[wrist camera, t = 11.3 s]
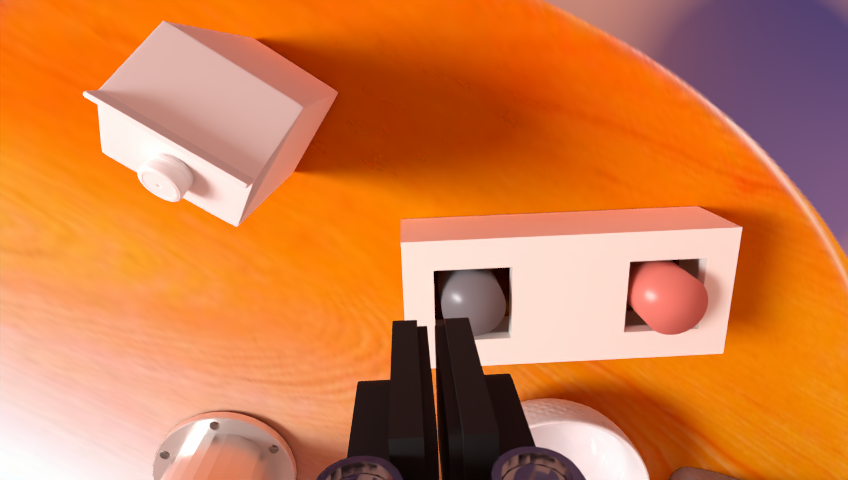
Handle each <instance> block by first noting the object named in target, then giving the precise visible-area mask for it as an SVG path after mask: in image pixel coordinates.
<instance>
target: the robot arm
mask: <svg viewBox="0 0 848 480" xmlns="http://www.w3.org/2000/svg"><path fill="white" fill-rule="evenodd" d="M435 357H436V388H437V419H438V439H437V425H436V415H435V404H434V394H433V383H432V373H431V362H430V352H429V341H428V331H427V326H417V320H404V321H393V325H392V352H391V378H390V380H377V381H359V382H358V385H357V391H356V398H355V405H354V412H353V419H352V426H351V433H350V440H349V448H348V455H347V458H346V459H342V460H340V461H338V462H336V463H334V464H332V465H330V466H328V467H327V468H326V469H325V470H324V471H323V472H322V473H320V474H319V476H318V477H317V479H316V480H439V462H438V441H439V453H440V463H441V473H442V480H586V479H585V477H584V476H583V474H582V473H581V471H580V470H579V468H578V467H577V466H576V465H575V464H574V463H573V462H572V461H571V460H570V459H568V458H567V457H565V456H564V455H562V454H561V453H558V452H556V451H553V450H550V449H548V448H541V447H536V445H535V442H534V440H533V437H532V434H531V431H530V428H529V425H528V423H527V420H526V417H525V414H524V411H523V408H522V405H521V403H520V400H519V397H518V394H517V391H516V388H515V386H514V383H513V380H512V377H511V375H510V374H493V375H484V374H483V370H482V366H481V362H480V359H479V355H478V351H477V347H476V343H475V340H474V336H473V332H472V328H471V325H470V321H469V318H468V317H466V318H445V319H444V325H435ZM296 475H297V470H296V462H295V459H294V456H293V454H292V451H291V449H290V448H289V446H288V444H287V443H286V441H285V440H284V439H283V438H282V437H281V436H280V435H279V434H278V433H277V432H276V431H275V430H274V429H272V428H271V427H270V426H268V425H267V424H265V423H263V422H261V421H259V420H257V419H255V418H253V417H249V416H246V415H243V414H239V413H232V412H210V413H204V414H199V415H197V416H194V417H191V418H188V419H186V420H185V421H183V422H181V423H180V424H178V425H177V426H175V427H174V428H173V429H172V430H171V431H170V432H169V433H168V434H167V436H166V437H165V438H164V440H163V441H162V443H161V444H160V446H159V448H158V449H157V451H156V454H155V457H154V461H153V479H154V480H296Z"/></svg>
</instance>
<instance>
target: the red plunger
mask: <svg viewBox="0 0 848 480" xmlns="http://www.w3.org/2000/svg"><path fill="white" fill-rule="evenodd" d="M627 303H628V304H629V305H630V306H631V308H632V309H633V310H634V311H635V312H636V313H637V314H638V315H639V316H640V317H641V318H642V319H643V320H644V321H645V322H646V323H647V324H648V325H649V326H650V328H652V329H653V330H654V331H656V332H658V333H661V334H665V335H676V334H680V333H683V332H686V331H688V330H690V329H691V328H693V327H694V326H695V325H697V324H698V323H699V321H700V320H701V319H702V318H703V316H704V314H705V312H706V310H707V306H708V294H707V291H706V288H705V287H704V285H703V284H702V283H701V282H700V281H699V280H697V279H696V278H695V277H693V276H692V275H691V274H689V273H688V272H686V271H685V270H684V269H682V268H681V267H679V266H678V265H677V264H675V263H674V262H673V261H671V260H656V261H635V262H630V268H629V280H628V291H627Z"/></svg>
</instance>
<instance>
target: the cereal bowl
mask: <svg viewBox="0 0 848 480" xmlns="http://www.w3.org/2000/svg"><path fill="white" fill-rule="evenodd" d="M520 403H521V405H522V408H523V411H524V414H525V417H526V420H527V423H528V425H529V428H530V431H531V434H532V437H533V440H534V442H535V445H536V447H541V448H548V449H550V450H553V451H556V452H558V453H561V454H562V455H564V456H565V457H567V458H568V459H570V460H571V461H572V462H573V463H574V464H575V465H576V466H577V467H578V468H579V470H580V471H581V473H582V474H583V476H584V477H585V479H586V480H650V478H649V474H648V470H647V468H646V465H645V463H644V460H643V459H642V457H641V455H640V454H639V452H638V450H637V449H636V448H635V446H634V445H633V443H632V442H631V441H630V440H629V438H628V437H627V436H626V435H625V434H624V432H623V431H622V430H621V429H620V428H619V427H618V426H617V425H616V424H615V423H614V422H612V421H611V420H609V419H608V418H607V417H606V416H604V415H602V414H601V413H600V412H598V411H596V410H594V409H592V408H591V407H588V406H585V405H583V404H580V403H576V402H573V401H567V400H565V399H564V400H563V399H556V398H542V399H532V400H526V401H522V402H520Z"/></svg>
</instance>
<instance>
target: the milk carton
mask: <svg viewBox="0 0 848 480" xmlns="http://www.w3.org/2000/svg"><path fill="white" fill-rule="evenodd" d="M337 95H338V92H337V91H336V90H334V89H333V88H331V87H330V86H328V85H327V84H325V83H324V82H322V81H320V80H319V79H317V78H316V77H314V76H313V75H311V74H309V73H308V72H306V71H305V70H303V69H302V68H300V67H298V66H297V65H295V64H294V63H292V62H290V61H289V60H287V59H286V58H284V57H283V56H281V55H279V54H278V53H276V52H275V51H273V50H272V49H270V48H268V47H267V46H265V45H264V44H262V43H260V42H259V41H257V40H255V39H254V38H250V37H245V36H240V35H234V34H229V33H224V32H219V31H213V30H208V29H203V28H197V27H192V26H187V25H182V24H176V23H171V22H166V21H163V22H162V23H161V24H160V25H159V26H158V27H157V28H156V29H155V30H154V31H153V32H152V33H151V34H150V35H149V36H148V38H147V39H146V40H145V41H144V42H143V43H142V44H141V45H140V46H139V47H138V48H137V49H136V50H135V51H134V53H133V54H132V55H131V56H130V57H129V58H128V59H127V60H126V61H125V62H124V63H123V64H122V65H121V66H120V67H119V69H118V70H117V71H116V72H115V73H114V74H113V75H112V76H111V77H110V78H109V79H108V80H107V81H106V82H105V84H104V85H103V86H102V87H101V88H100V89H99V90H94V91H84V93H83V96H84V97H85V98H87V99H89V100H90V101H92V102H94V103H96V104H97V105H98V114H99V125H100V136H101V147H102V152H103V153H104V154H106V155H108V156H109V157H111V158H113V159H114V160H116V161H118V162H119V163H121V164H123V165H125V166H126V167H128V168H130V169H132V170H134V171H135V172H137V174H138V178H139V180H140V182H141V183H142V184H143V186H144V187H145V188H147V189H148V190H149V191H150V192H152V193H153V194H155V195H156V196H158V197H160V198H162V199H164V200H167V201H171V202H177V201H179V200H181V199H182V198H184V199H186V200H188V201H190V202H191V203H193V204H195V205H197V206H199V207H200V208H202V209H204V210H206V211H208V212H209V213H211V214H213V215H215V216H217V217H219V218H220V219H222V220H224V221H226V222H228V223H230V224H232V225H234V226H237V227H238V226H239V225H240V224H241V223H242V222H243V221H244V220H245V219H246V218H247V217H248V216H249V215H250V214H251V213H252V212H253V211H254V210H255V209H256V208H257V207H258V206H259V205H260V204H261V203H262V202H263V201H264V200H266V199H267V198H268V197H269V196H270V195H271V194H272V193H273V192H274V191H275V190H276V189H277V188H278V187H279V186H280V185H281V184H282V183H283V182H284V181H285V180H286V179H287V178H288V177H289V176H290V175H291V174H292V173H293V172H294V170H295V169H296V167H297V165H298V163H299V161H300V160H301V158H302V156H303V154H304V153H305V151H306V149H307V147H308V146H309V144H310V142H311V140H312V139H313V137H314V135H315V133H316V132H317V130H318V128H319V126H320V125H321V123H322V121H323V119H324V118H325V116H326V114H327V112H328V111H329V109H330V107H331V105H332V104H333V102H334V100H335V98H336V96H337Z"/></svg>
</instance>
